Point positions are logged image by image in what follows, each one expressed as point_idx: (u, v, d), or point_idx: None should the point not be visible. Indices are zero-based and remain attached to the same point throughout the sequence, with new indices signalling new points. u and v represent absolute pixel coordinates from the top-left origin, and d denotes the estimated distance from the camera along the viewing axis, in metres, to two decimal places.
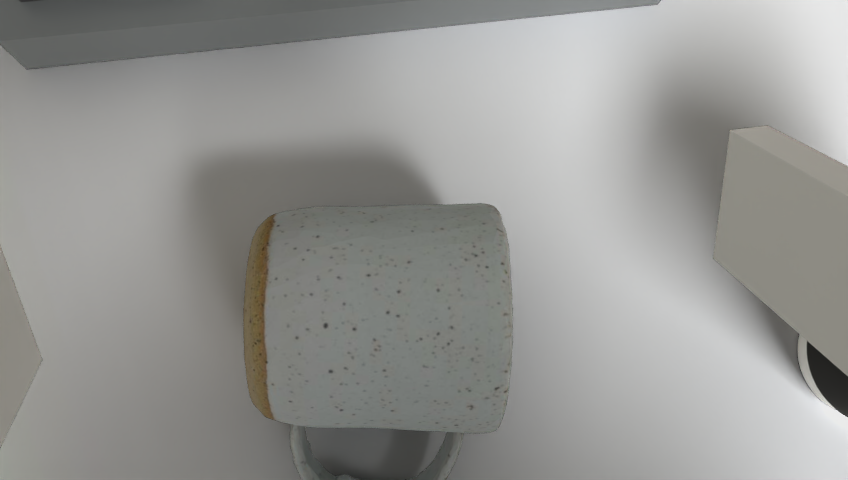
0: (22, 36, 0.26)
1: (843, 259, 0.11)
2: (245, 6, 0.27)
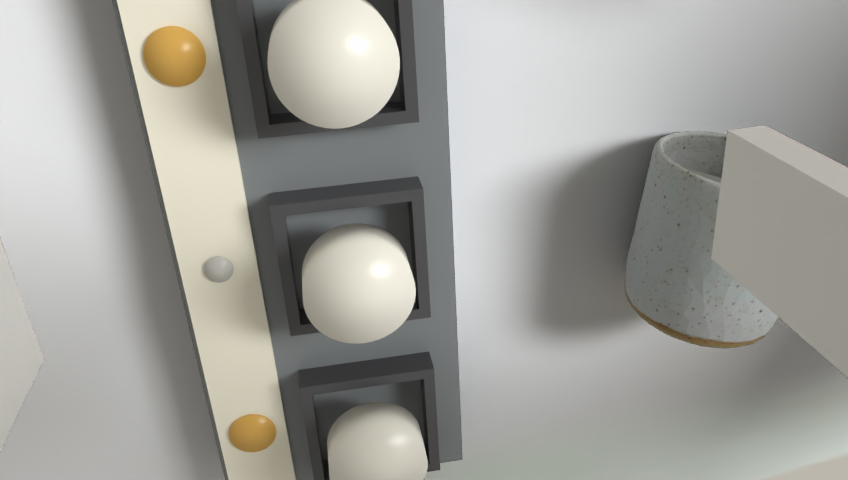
0: (460, 447, 0.38)
1: (840, 258, 0.11)
2: (447, 319, 0.35)
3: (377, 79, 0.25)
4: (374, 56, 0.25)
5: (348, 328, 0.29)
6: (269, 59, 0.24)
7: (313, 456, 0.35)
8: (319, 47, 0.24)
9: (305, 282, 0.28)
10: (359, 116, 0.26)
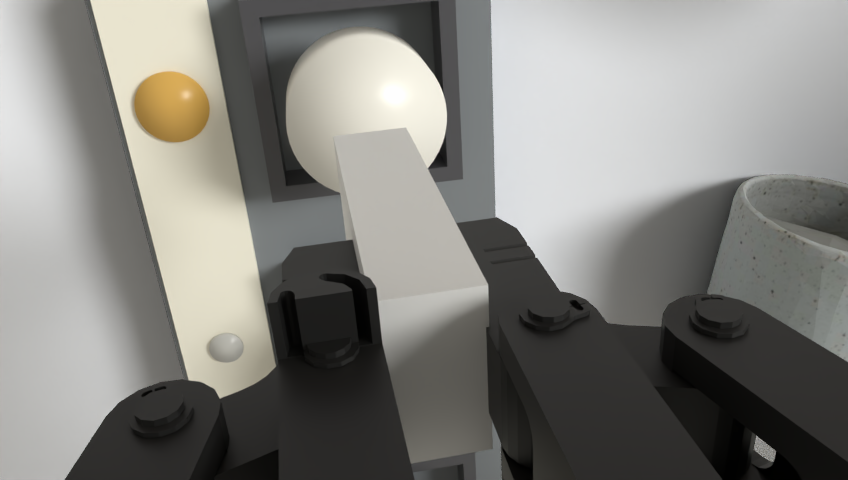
0: None
1: None
2: None
3: (419, 137, 0.21)
4: (416, 110, 0.20)
5: None
6: (288, 117, 0.20)
7: None
8: (349, 101, 0.20)
9: None
10: None
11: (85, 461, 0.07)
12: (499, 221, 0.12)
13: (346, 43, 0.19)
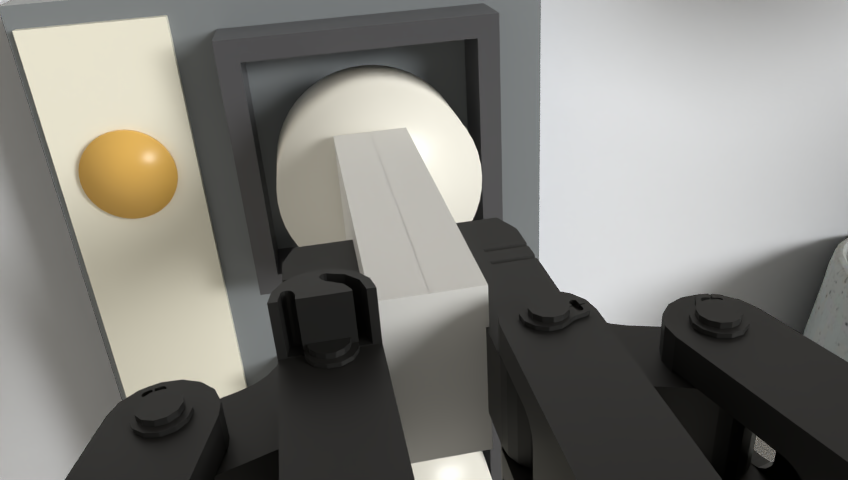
0: None
1: None
2: None
3: None
4: (443, 174, 0.16)
5: None
6: (279, 185, 0.15)
7: None
8: None
9: None
10: None
11: (86, 461, 0.07)
12: (499, 222, 0.12)
13: (354, 91, 0.15)
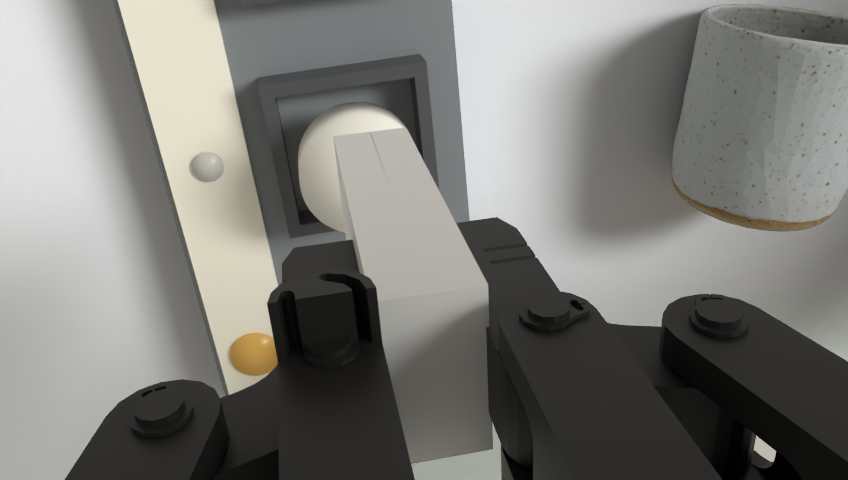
0: None
1: None
2: (459, 219, 0.32)
3: None
4: None
5: None
6: None
7: None
8: None
9: (301, 163, 0.25)
10: None
11: (85, 461, 0.07)
12: (499, 221, 0.12)
13: None
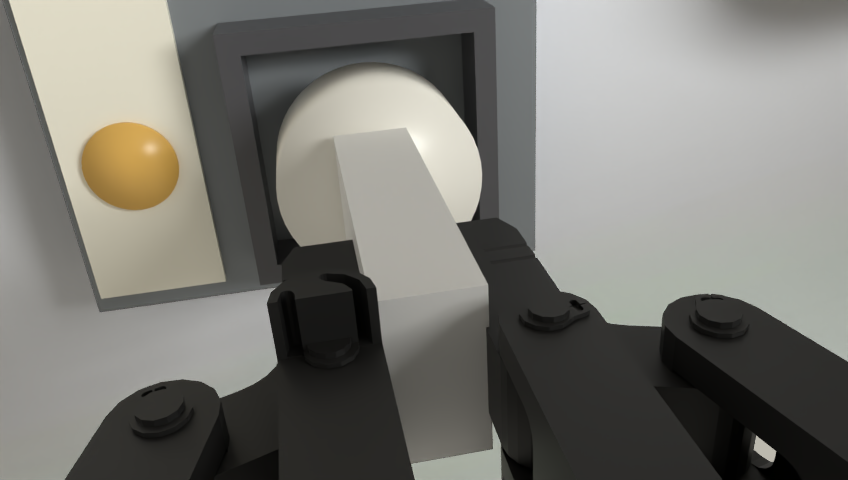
0: (531, 223, 0.21)
1: None
2: None
3: None
4: None
5: None
6: None
7: (252, 208, 0.18)
8: None
9: None
10: None
11: (85, 462, 0.07)
12: (499, 221, 0.12)
13: None
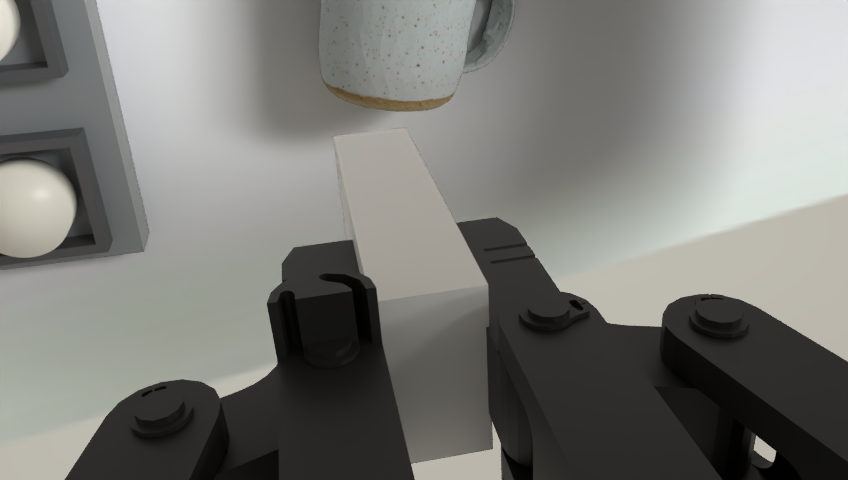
0: (138, 237, 0.39)
1: None
2: (97, 92, 0.36)
3: None
4: None
5: None
6: None
7: None
8: None
9: None
10: None
11: (85, 461, 0.07)
12: (499, 222, 0.12)
13: None
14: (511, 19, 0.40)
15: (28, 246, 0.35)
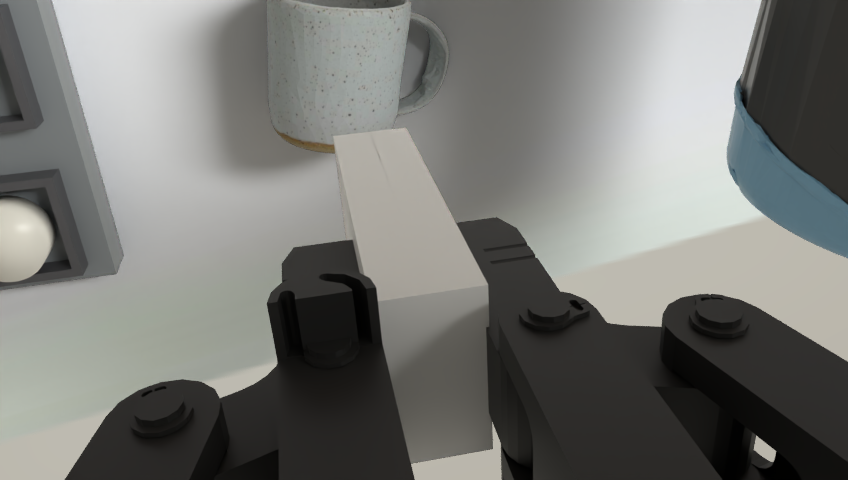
0: (111, 261, 0.45)
1: None
2: (68, 138, 0.41)
3: None
4: None
5: None
6: None
7: None
8: None
9: None
10: None
11: (85, 462, 0.07)
12: (499, 221, 0.12)
13: None
14: (446, 65, 0.44)
15: (11, 272, 0.41)
